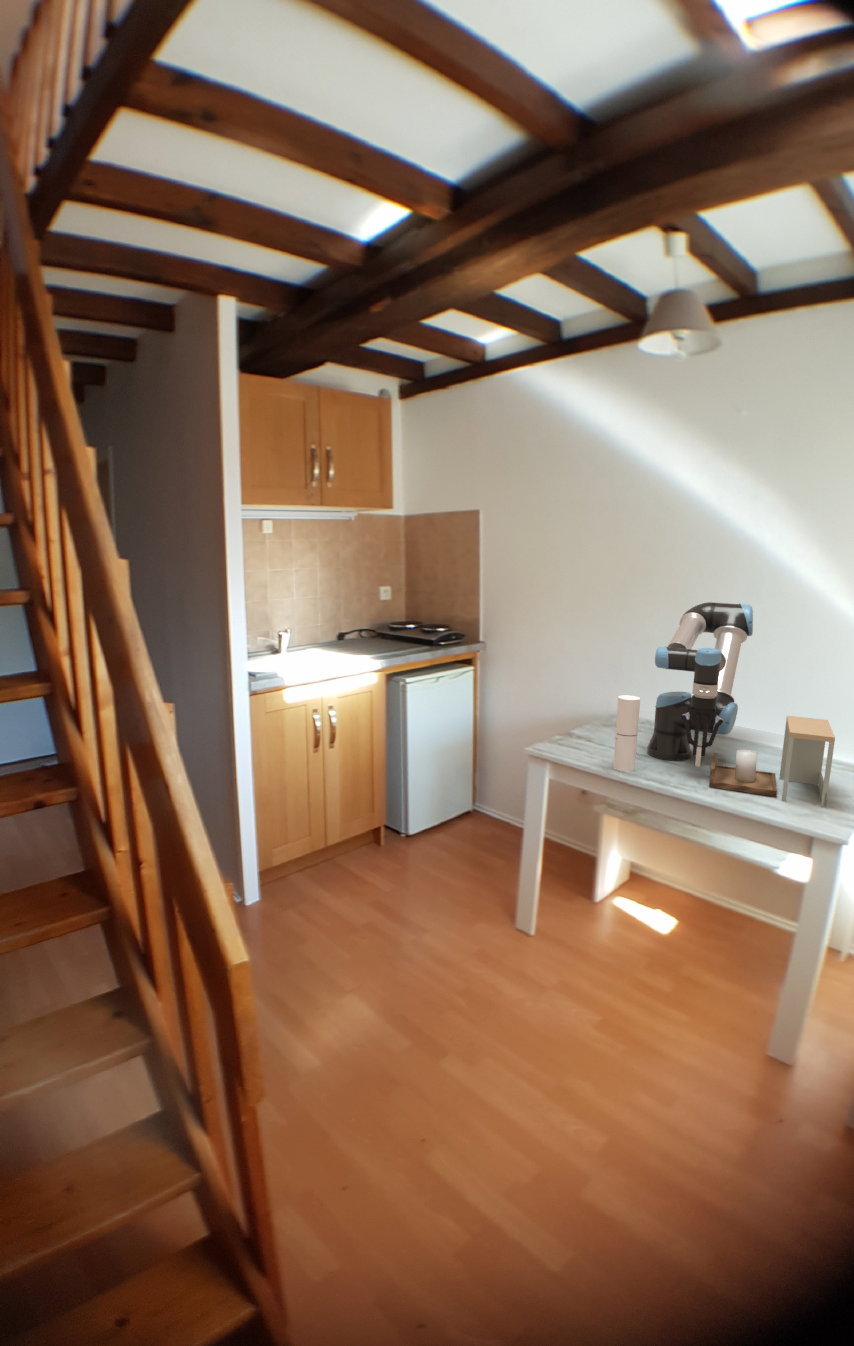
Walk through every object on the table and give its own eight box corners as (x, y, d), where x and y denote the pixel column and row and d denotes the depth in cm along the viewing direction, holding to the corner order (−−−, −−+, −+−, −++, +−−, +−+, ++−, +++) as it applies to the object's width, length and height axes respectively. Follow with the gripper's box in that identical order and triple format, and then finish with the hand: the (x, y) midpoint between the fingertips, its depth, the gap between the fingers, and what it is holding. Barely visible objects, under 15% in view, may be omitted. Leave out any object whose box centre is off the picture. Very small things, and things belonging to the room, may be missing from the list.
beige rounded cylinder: (734, 780, 216) (736, 753, 215) (734, 775, 222) (736, 748, 220) (755, 782, 214) (757, 755, 212) (754, 777, 219) (756, 750, 218)
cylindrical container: (623, 773, 227) (628, 700, 222) (608, 766, 233) (613, 696, 228) (639, 770, 230) (644, 698, 225) (624, 764, 236) (629, 694, 231)
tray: (709, 786, 214) (710, 768, 213) (712, 769, 231) (714, 752, 230) (776, 796, 206) (778, 778, 205) (774, 778, 223) (776, 761, 221)
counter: (781, 800, 204) (789, 732, 200) (779, 778, 224) (786, 715, 220) (825, 807, 199) (835, 737, 195) (819, 784, 219) (827, 720, 215)
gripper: (681, 695, 219) (675, 765, 223) (725, 700, 213) (718, 771, 217) (684, 691, 225) (678, 759, 230) (726, 696, 220) (719, 765, 224)
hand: (697, 765), depth 223 cm, fingers closed
